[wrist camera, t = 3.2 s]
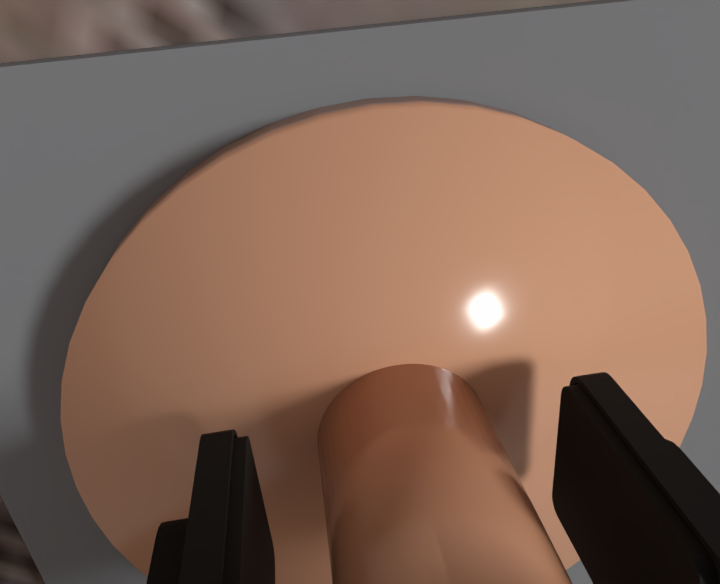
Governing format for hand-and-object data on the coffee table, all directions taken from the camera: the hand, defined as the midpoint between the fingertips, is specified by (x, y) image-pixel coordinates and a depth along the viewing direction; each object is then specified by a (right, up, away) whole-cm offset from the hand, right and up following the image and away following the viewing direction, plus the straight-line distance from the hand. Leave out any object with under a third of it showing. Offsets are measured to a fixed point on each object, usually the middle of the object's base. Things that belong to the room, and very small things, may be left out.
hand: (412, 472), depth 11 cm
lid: (0, +1, +2) cm, 2 cm away
